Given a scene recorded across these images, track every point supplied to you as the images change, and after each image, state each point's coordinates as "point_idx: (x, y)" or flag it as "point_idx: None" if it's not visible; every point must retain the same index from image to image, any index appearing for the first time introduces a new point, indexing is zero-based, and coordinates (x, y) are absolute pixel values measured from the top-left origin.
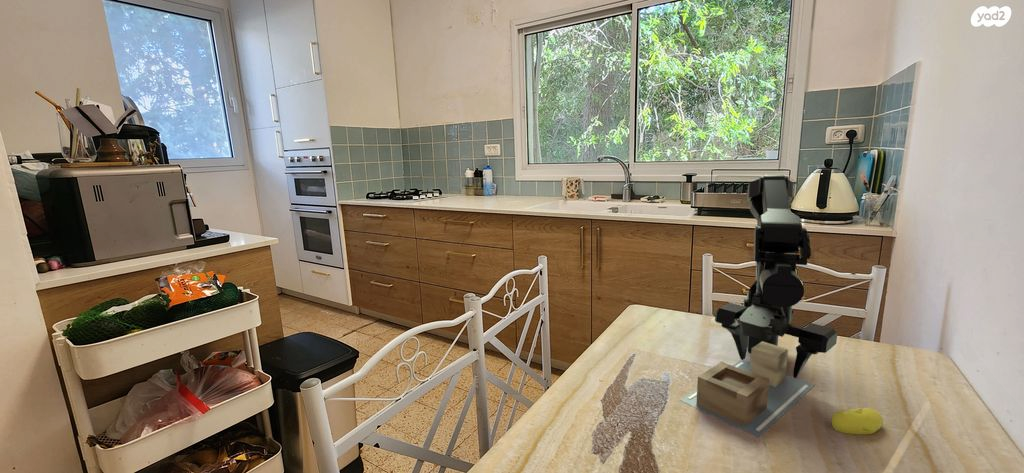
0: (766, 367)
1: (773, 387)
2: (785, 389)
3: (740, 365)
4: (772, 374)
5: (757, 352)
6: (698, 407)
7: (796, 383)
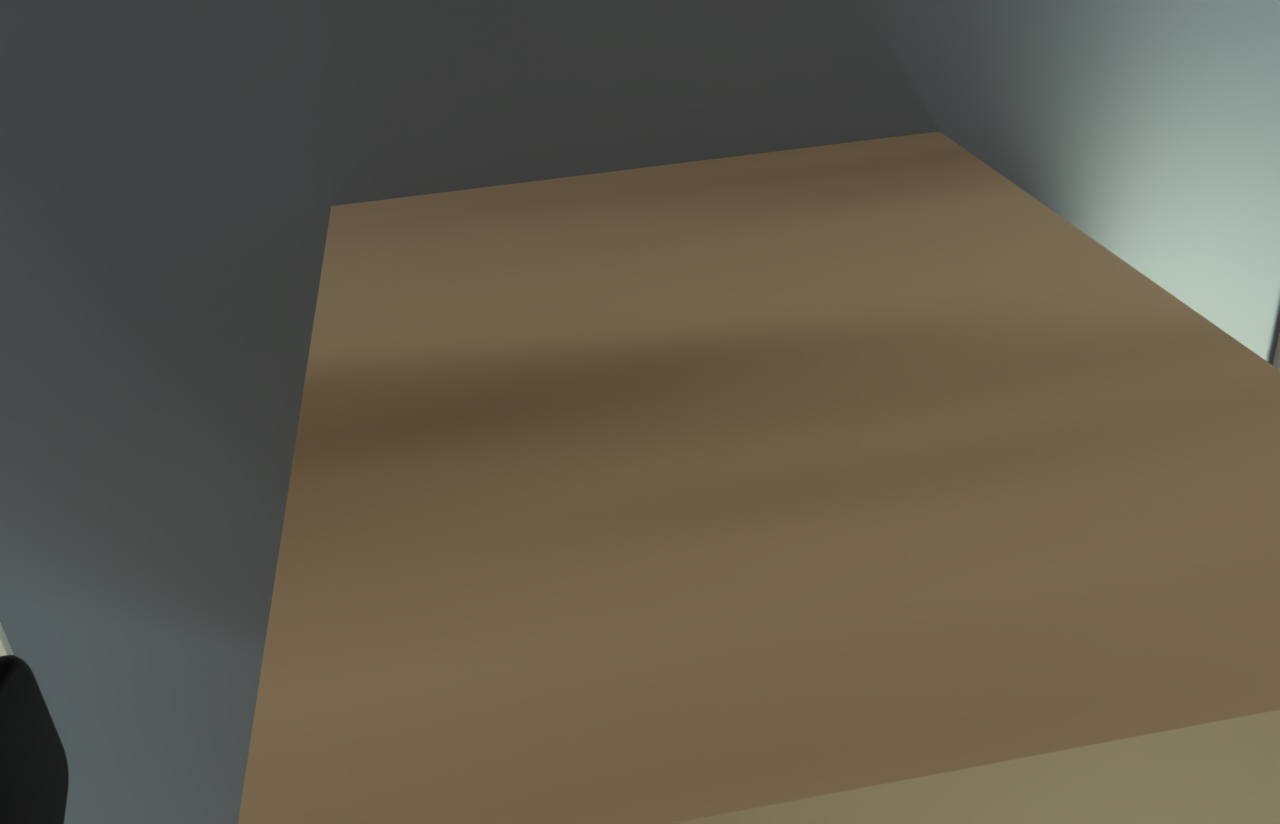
0: (647, 371)
1: (336, 146)
2: (133, 301)
3: None
4: (421, 319)
5: (1260, 599)
6: None
7: (194, 700)
